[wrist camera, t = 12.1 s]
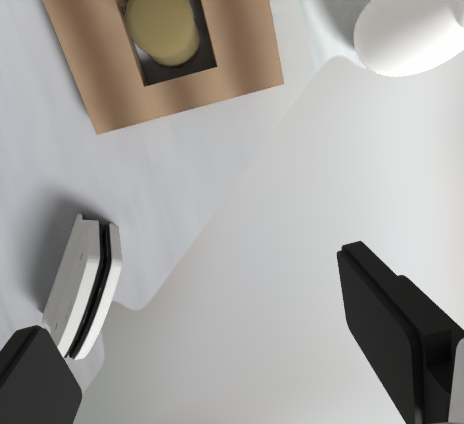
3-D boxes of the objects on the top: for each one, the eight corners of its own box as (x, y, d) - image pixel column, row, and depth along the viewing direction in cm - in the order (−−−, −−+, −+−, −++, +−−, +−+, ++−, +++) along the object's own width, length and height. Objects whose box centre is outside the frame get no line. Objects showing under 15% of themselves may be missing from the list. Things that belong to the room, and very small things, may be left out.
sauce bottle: (417, 51, 37) (596, 25, 20) (354, 90, 38) (475, 96, 21) (393, -21, 34) (575, -121, 17) (325, 23, 35) (437, -32, 18)
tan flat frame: (249, -69, 32) (254, -84, 29) (278, 83, 37) (284, 83, 34) (48, -13, 32) (33, -22, 29) (104, 130, 37) (96, 134, 34)
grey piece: (78, 210, 40) (80, 257, 32) (117, 219, 43) (128, 265, 35) (42, 316, 45) (36, 380, 37) (79, 318, 48) (80, 378, 40)
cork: (165, 80, 36) (150, 78, 26) (128, 26, 34) (96, 1, 24) (211, 46, 35) (215, 31, 25) (177, -11, 33) (165, -53, 23)
